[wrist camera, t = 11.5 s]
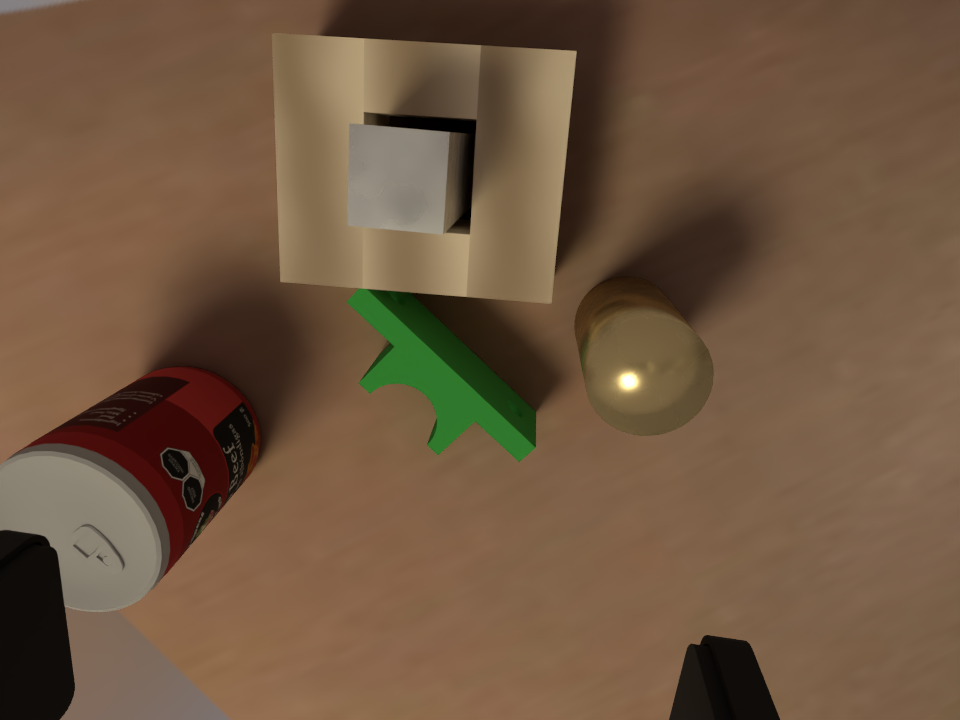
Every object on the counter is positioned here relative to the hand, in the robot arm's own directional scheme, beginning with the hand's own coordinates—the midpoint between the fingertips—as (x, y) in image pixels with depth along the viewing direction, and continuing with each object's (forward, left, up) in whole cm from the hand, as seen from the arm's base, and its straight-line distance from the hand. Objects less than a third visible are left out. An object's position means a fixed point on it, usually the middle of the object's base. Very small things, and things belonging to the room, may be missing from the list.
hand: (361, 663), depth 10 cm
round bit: (-7, +1, -26) cm, 27 cm away
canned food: (+16, +9, -26) cm, 32 cm away
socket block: (+3, -6, -26) cm, 26 cm away
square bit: (+3, -6, -26) cm, 26 cm away
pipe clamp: (+2, +4, -26) cm, 26 cm away
